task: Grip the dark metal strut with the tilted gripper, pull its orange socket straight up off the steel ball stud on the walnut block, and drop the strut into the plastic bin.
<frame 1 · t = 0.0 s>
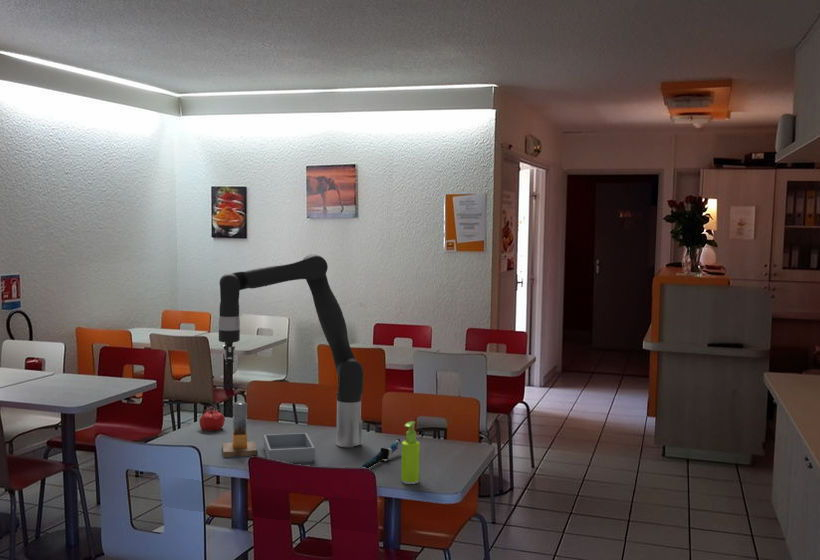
hand: (228, 372, 282), 29 cm above the table, tool pointing down, fingers open, 8 cm apart
knife: (379, 464, 273), on the table
red tomato: (212, 429, 314), on the table
bin: (288, 454, 281), on the table
soap dispenser: (409, 482, 253), on the table
strut: (239, 446, 283), point 2 cm above the table, touching stud block
stud block: (239, 451, 283), on the table
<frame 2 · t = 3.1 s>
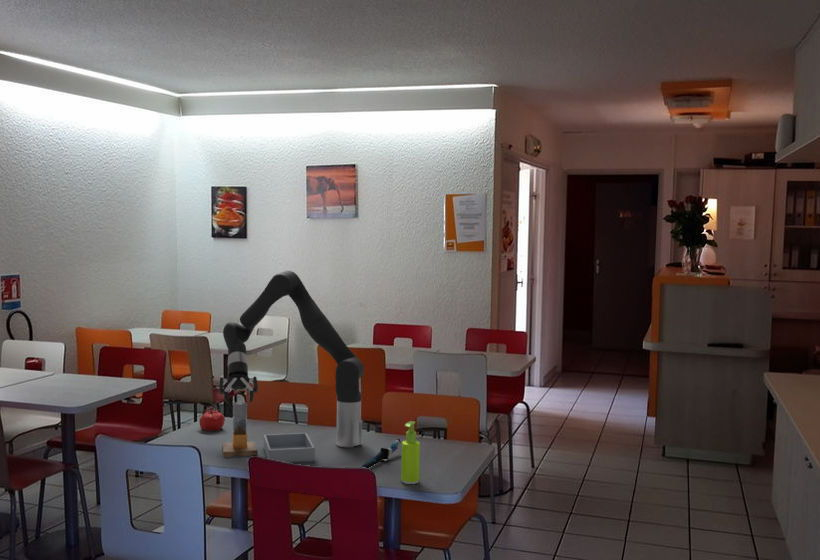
hand: (239, 401, 289), 17 cm above the table, tool tilted 45°, fingers open, 8 cm apart
nothing on the table moved.
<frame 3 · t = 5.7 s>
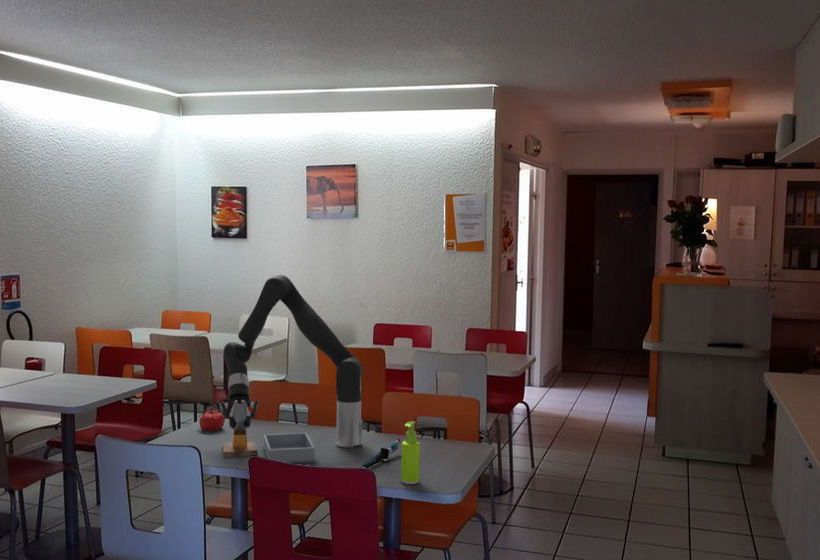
hand: (240, 427, 281), 10 cm above the table, tool tilted 45°, fingers closed on strut, 4 cm apart
strut: (239, 446, 283), point 2 cm above the table, touching gripper, stud block
everything else where it was.
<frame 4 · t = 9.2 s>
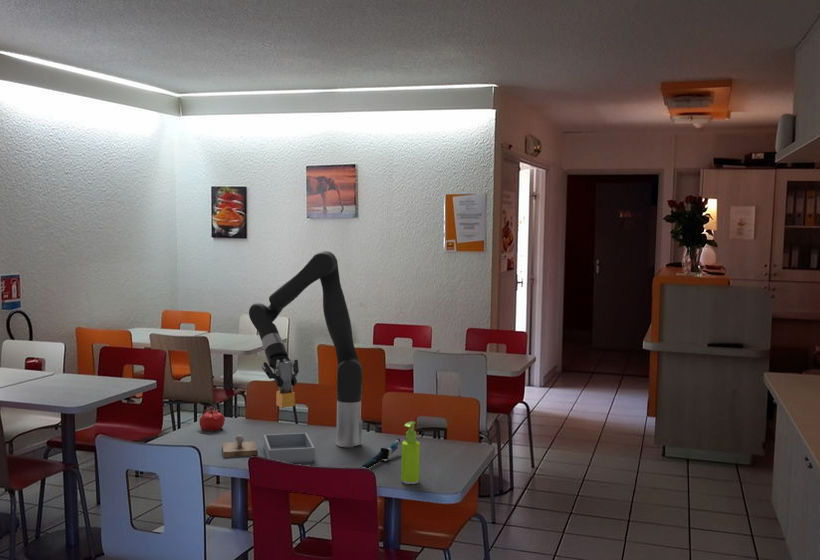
hand: (287, 385, 278), 26 cm above the table, tool tilted 45°, fingers closed on strut, 4 cm apart
strut: (285, 405, 280), point 18 cm above the table, touching gripper
everything else where it was.
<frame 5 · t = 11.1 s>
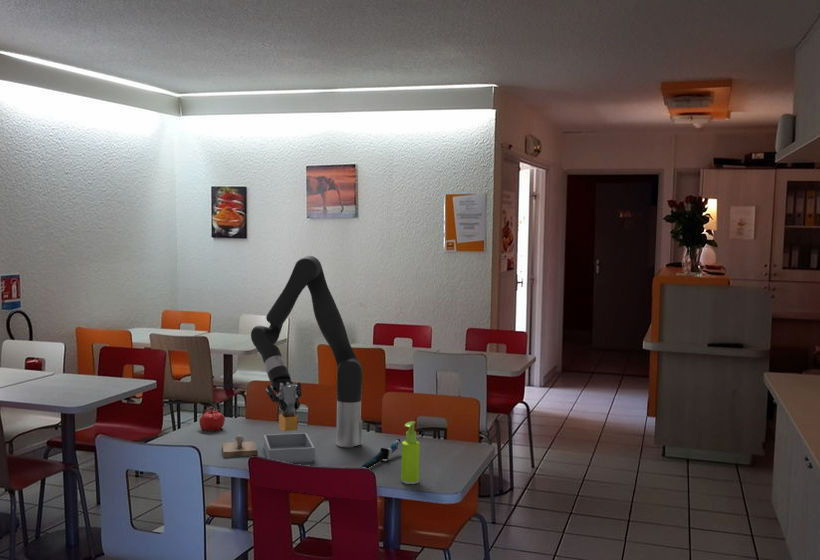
hand: (291, 409, 279), 17 cm above the table, tool tilted 45°, fingers closed on strut, 4 cm apart
strut: (288, 428, 281), point 10 cm above the table, touching gripper
everything else where it was.
when the fingers open (11 cm above the table, at t = 12.7 s): strut drops 3 cm, resting on bin.
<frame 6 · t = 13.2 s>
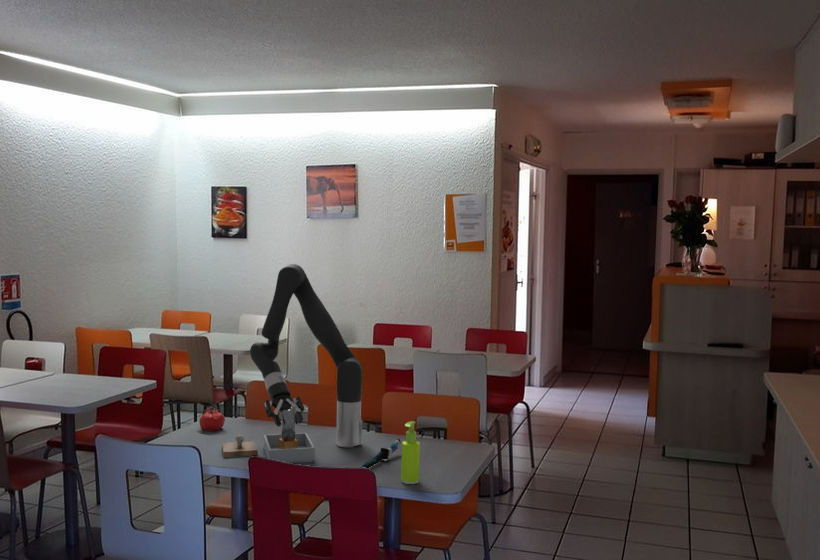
hand: (290, 423, 279), 12 cm above the table, tool tilted 45°, fingers open, 8 cm apart
strut: (288, 453, 281), point 1 cm above the table, touching bin
everything else where it was.
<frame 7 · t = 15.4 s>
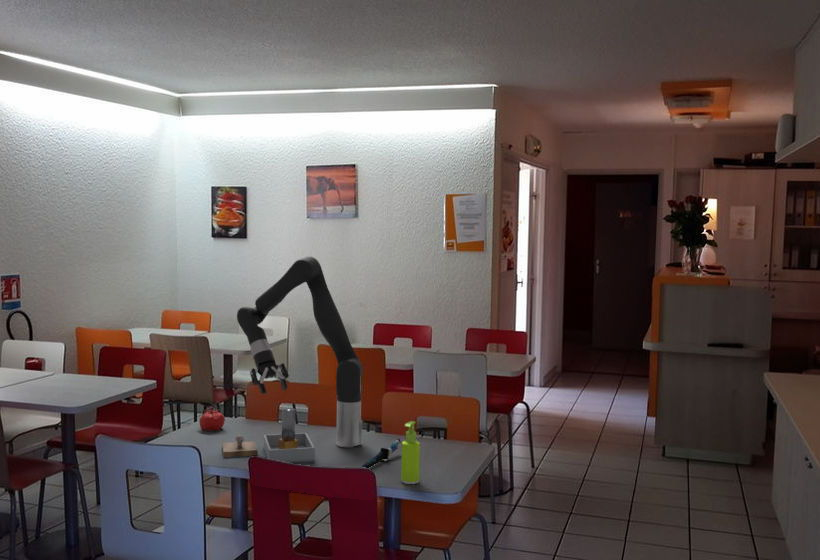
hand: (275, 391, 292), 20 cm above the table, tool tilted 35°, fingers open, 8 cm apart
nothing on the table moved.
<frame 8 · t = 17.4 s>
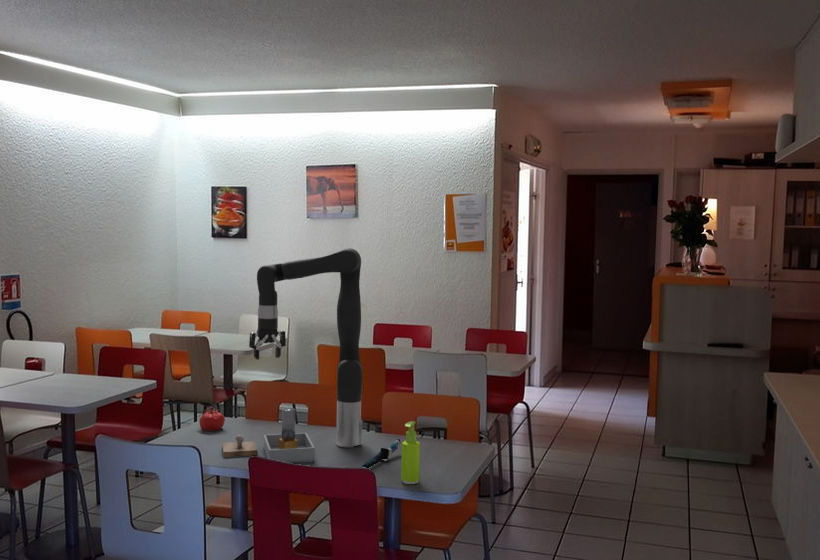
hand: (267, 358, 298), 32 cm above the table, tool pointing down, fingers open, 8 cm apart
nothing on the table moved.
at the end: strut inside the target area on the bin (0.1 cm from its centre), point 0.6 cm above the bin's base; the gripper is holding nothing; strut moved 18.3 cm from its start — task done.
